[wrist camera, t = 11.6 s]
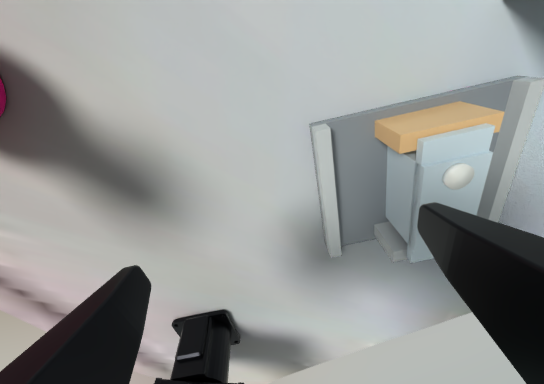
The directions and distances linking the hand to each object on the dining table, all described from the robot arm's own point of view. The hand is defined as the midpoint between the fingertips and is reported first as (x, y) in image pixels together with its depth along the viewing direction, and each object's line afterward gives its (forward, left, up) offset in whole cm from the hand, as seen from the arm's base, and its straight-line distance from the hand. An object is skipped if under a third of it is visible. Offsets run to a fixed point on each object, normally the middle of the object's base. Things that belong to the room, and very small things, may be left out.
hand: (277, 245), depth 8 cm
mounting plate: (-6, -11, -12) cm, 17 cm away
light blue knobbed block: (-6, -11, -11) cm, 17 cm away
